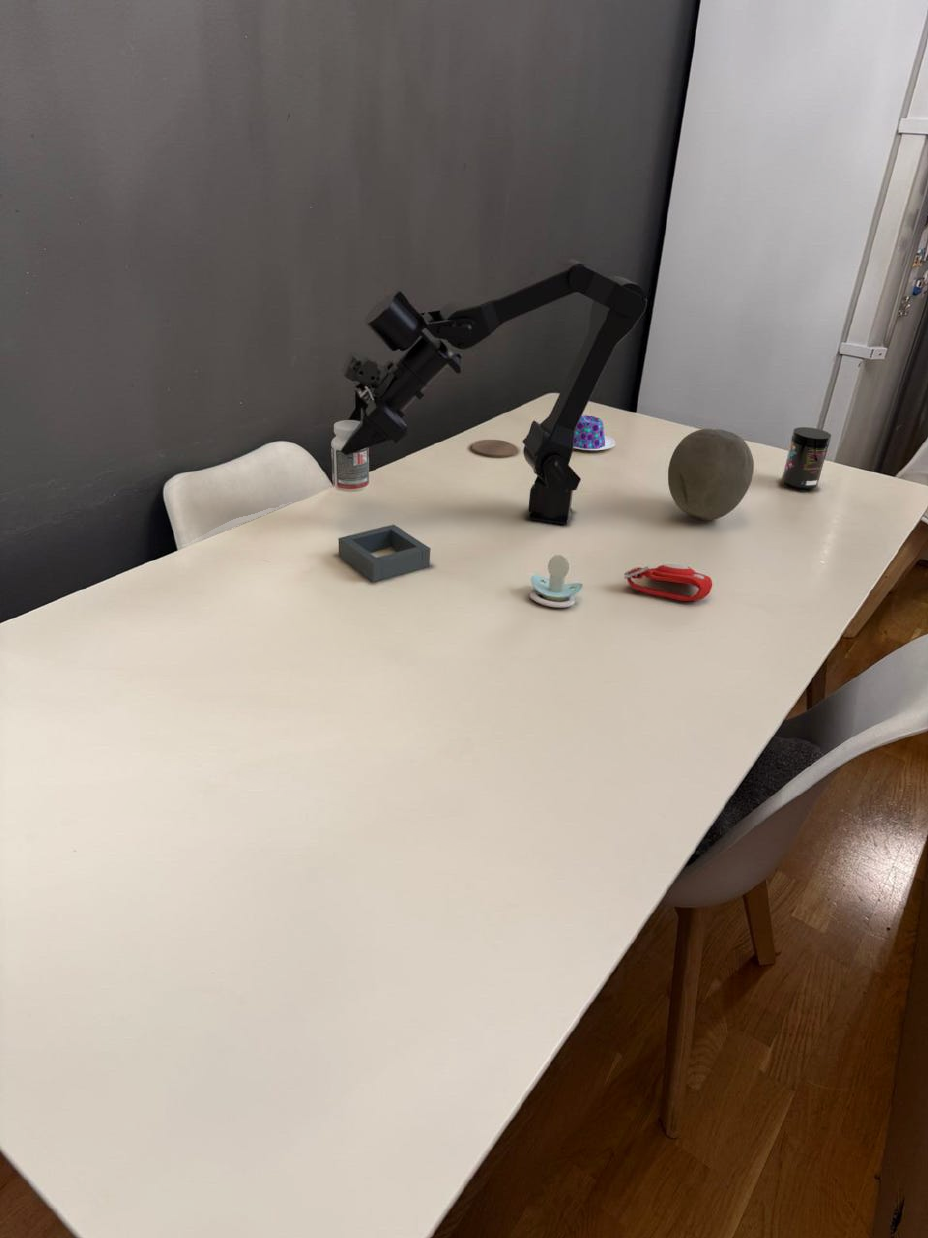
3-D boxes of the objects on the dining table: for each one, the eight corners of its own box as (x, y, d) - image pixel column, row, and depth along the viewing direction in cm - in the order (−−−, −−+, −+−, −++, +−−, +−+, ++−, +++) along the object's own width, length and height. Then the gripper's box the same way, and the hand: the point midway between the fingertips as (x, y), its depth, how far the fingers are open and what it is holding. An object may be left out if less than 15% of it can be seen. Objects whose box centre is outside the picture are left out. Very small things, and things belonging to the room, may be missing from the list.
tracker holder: (670, 560, 134) (726, 570, 127) (666, 588, 135) (722, 600, 128) (617, 561, 127) (674, 572, 119) (614, 591, 127) (670, 604, 120)
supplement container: (798, 477, 173) (812, 425, 168) (824, 489, 168) (839, 436, 162) (772, 481, 170) (785, 428, 165) (798, 494, 165) (812, 440, 160)
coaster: (520, 445, 180) (520, 443, 180) (512, 459, 172) (512, 457, 172) (477, 439, 182) (478, 437, 181) (467, 453, 174) (467, 451, 174)
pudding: (554, 449, 179) (557, 424, 176) (558, 431, 189) (561, 407, 186) (614, 456, 177) (617, 431, 175) (615, 437, 188) (618, 413, 185)
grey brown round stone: (752, 534, 148) (773, 448, 140) (668, 529, 147) (684, 443, 140) (731, 501, 160) (749, 421, 152) (653, 497, 159) (668, 416, 152)
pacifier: (573, 615, 121) (583, 594, 126) (578, 575, 117) (588, 555, 122) (522, 603, 123) (534, 584, 128) (525, 564, 119) (538, 545, 124)
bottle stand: (393, 541, 137) (393, 524, 136) (429, 566, 131) (430, 548, 129) (338, 556, 132) (338, 537, 130) (373, 582, 125) (373, 563, 124)
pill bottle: (376, 487, 139) (376, 425, 134) (349, 496, 135) (347, 433, 130) (352, 476, 142) (351, 416, 137) (325, 485, 138) (322, 423, 133)
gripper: (366, 319, 135) (297, 392, 139) (384, 349, 120) (306, 430, 123) (416, 370, 141) (348, 439, 144) (439, 405, 125) (363, 481, 129)
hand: (341, 446), depth 135 cm, fingers closed on pill bottle, 6 cm apart
